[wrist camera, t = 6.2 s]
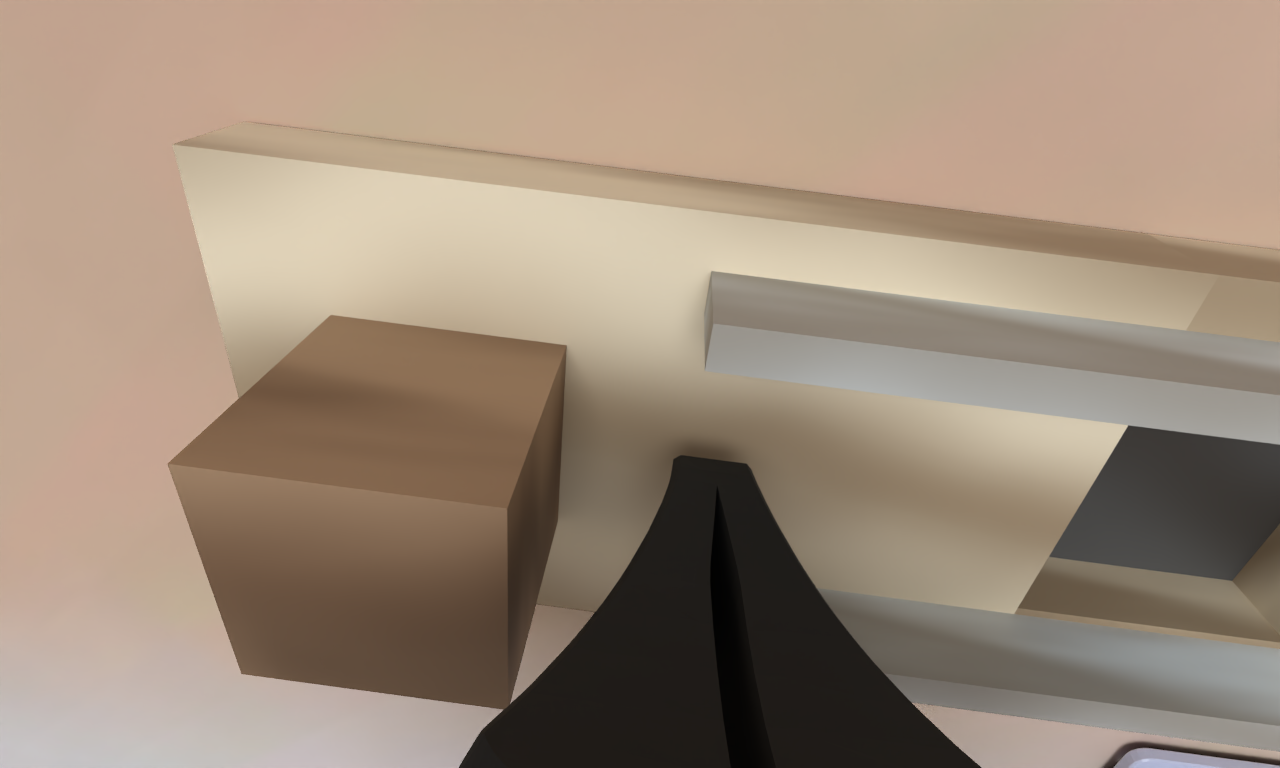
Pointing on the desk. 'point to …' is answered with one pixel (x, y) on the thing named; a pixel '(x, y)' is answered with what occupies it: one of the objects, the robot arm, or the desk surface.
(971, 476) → the channel board
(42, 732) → the desk surface
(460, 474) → the walnut cube
